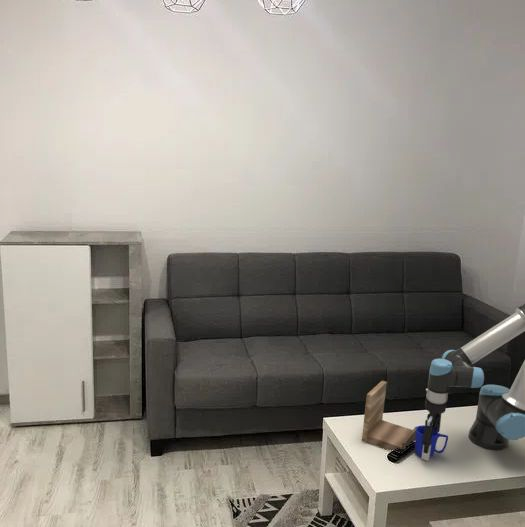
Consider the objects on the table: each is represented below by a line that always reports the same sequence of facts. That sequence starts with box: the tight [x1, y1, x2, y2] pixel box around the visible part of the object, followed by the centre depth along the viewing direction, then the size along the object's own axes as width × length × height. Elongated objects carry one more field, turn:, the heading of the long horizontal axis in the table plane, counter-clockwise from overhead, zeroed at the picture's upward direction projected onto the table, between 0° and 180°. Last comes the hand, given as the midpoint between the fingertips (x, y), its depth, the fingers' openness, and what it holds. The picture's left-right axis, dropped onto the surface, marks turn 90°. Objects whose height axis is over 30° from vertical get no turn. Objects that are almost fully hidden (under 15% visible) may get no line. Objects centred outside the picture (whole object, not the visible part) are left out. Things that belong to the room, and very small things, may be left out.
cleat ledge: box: [365, 419, 418, 452], centre depth 242 cm, size 15×16×5 cm
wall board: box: [361, 380, 388, 443], centre depth 245 cm, size 2×16×20 cm, turn 148°
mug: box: [414, 424, 449, 458], centre depth 233 cm, size 8×12×10 cm
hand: (428, 455), depth 233 cm, fingers closed on mug, 7 cm apart
